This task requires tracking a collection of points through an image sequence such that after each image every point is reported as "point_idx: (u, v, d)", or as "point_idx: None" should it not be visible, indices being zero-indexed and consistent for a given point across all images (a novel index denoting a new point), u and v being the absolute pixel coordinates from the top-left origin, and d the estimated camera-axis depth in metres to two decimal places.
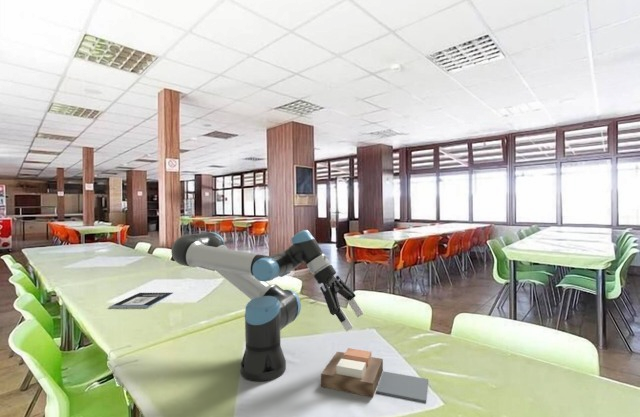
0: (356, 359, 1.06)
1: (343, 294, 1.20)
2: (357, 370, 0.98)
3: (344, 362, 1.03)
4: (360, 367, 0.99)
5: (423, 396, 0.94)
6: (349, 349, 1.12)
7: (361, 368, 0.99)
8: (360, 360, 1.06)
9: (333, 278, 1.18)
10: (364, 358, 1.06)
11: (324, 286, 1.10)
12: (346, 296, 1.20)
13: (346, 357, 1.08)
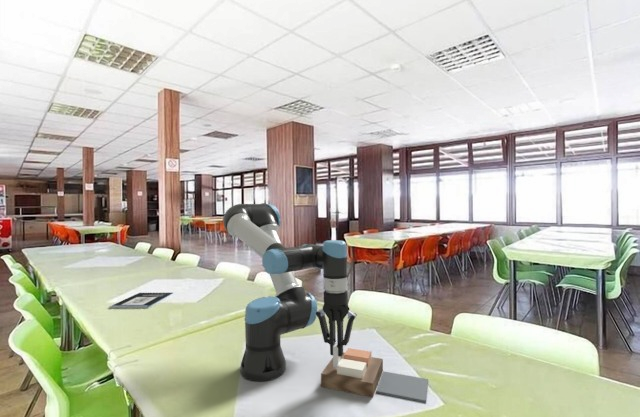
0: (356, 359, 1.06)
1: None
2: (358, 370, 0.98)
3: (344, 362, 1.03)
4: (361, 367, 0.99)
5: (423, 396, 0.94)
6: (349, 349, 1.12)
7: (361, 368, 0.99)
8: (360, 360, 1.06)
9: (342, 305, 1.01)
10: (364, 358, 1.06)
11: None
12: None
13: (346, 357, 1.08)
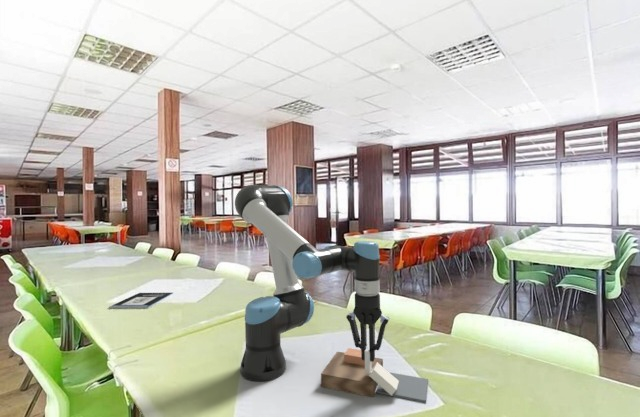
0: (356, 359, 1.06)
1: None
2: (392, 387, 0.94)
3: (380, 368, 0.99)
4: (395, 385, 0.95)
5: (423, 396, 0.94)
6: (349, 349, 1.12)
7: (395, 386, 0.95)
8: (360, 360, 1.06)
9: (375, 309, 0.97)
10: None
11: None
12: None
13: (346, 357, 1.08)
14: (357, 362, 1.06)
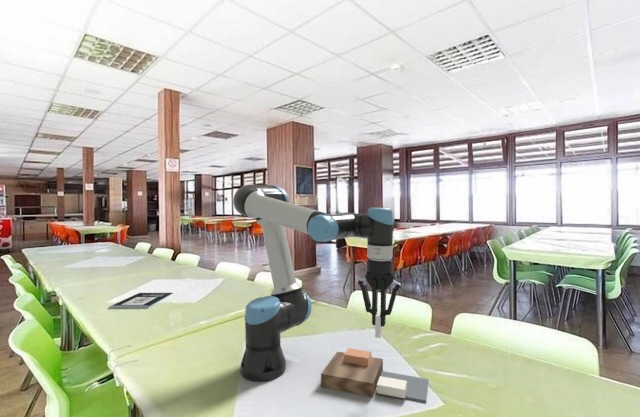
0: (356, 359, 1.06)
1: None
2: (400, 390, 0.94)
3: (384, 380, 0.98)
4: (403, 386, 0.95)
5: (423, 396, 0.94)
6: (349, 349, 1.12)
7: (403, 387, 0.94)
8: (360, 360, 1.06)
9: (387, 274, 0.97)
10: (364, 358, 1.06)
11: None
12: None
13: (346, 357, 1.08)
14: (357, 362, 1.06)
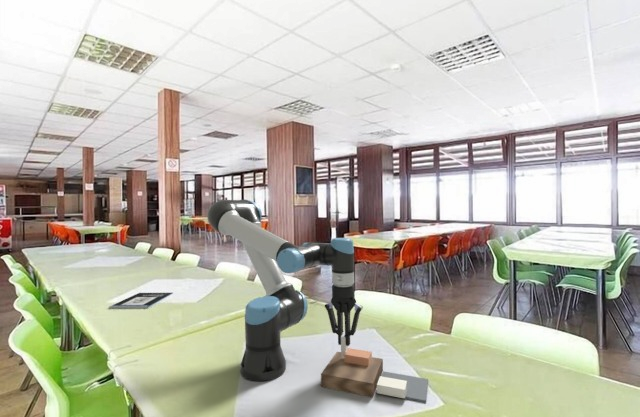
0: (356, 359, 1.06)
1: None
2: (400, 390, 0.94)
3: (384, 380, 0.98)
4: (403, 386, 0.95)
5: (423, 396, 0.94)
6: (349, 349, 1.11)
7: (403, 387, 0.94)
8: (360, 360, 1.06)
9: (350, 298, 1.08)
10: (364, 358, 1.05)
11: None
12: None
13: (346, 357, 1.08)
14: (357, 362, 1.06)
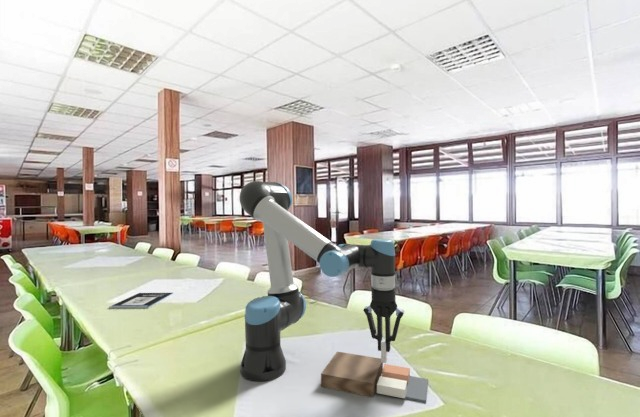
0: (395, 376, 1.02)
1: None
2: (400, 390, 0.94)
3: (384, 380, 0.98)
4: (403, 386, 0.95)
5: (423, 396, 0.94)
6: (386, 365, 1.07)
7: (403, 387, 0.94)
8: (399, 377, 1.02)
9: (391, 302, 1.03)
10: (404, 375, 1.01)
11: None
12: None
13: (384, 374, 1.03)
14: None
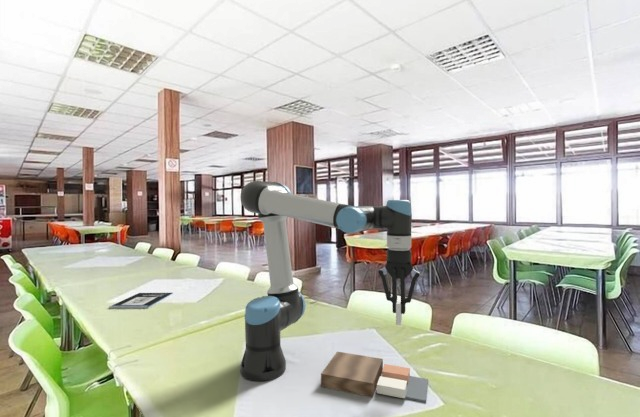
0: (395, 376, 1.02)
1: None
2: (400, 390, 0.94)
3: (384, 380, 0.98)
4: (403, 386, 0.95)
5: (423, 396, 0.94)
6: (386, 365, 1.07)
7: (403, 387, 0.94)
8: (399, 377, 1.02)
9: (407, 263, 1.02)
10: (404, 375, 1.01)
11: None
12: None
13: (384, 374, 1.03)
14: None
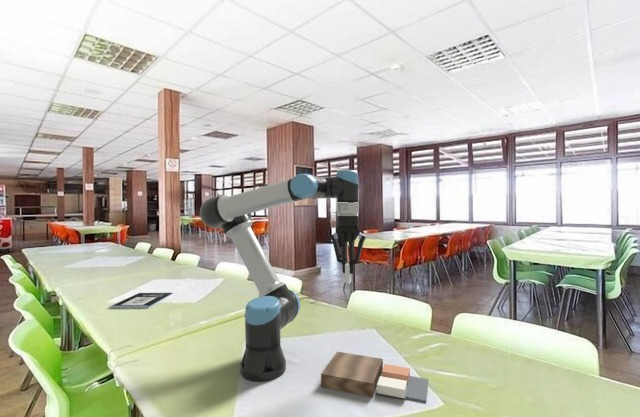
0: (395, 376, 1.02)
1: None
2: (400, 390, 0.94)
3: (384, 380, 0.98)
4: (403, 386, 0.95)
5: (423, 396, 0.94)
6: (386, 365, 1.07)
7: (403, 387, 0.94)
8: (399, 377, 1.02)
9: (354, 227, 1.12)
10: (404, 375, 1.01)
11: None
12: None
13: (384, 374, 1.03)
14: None
